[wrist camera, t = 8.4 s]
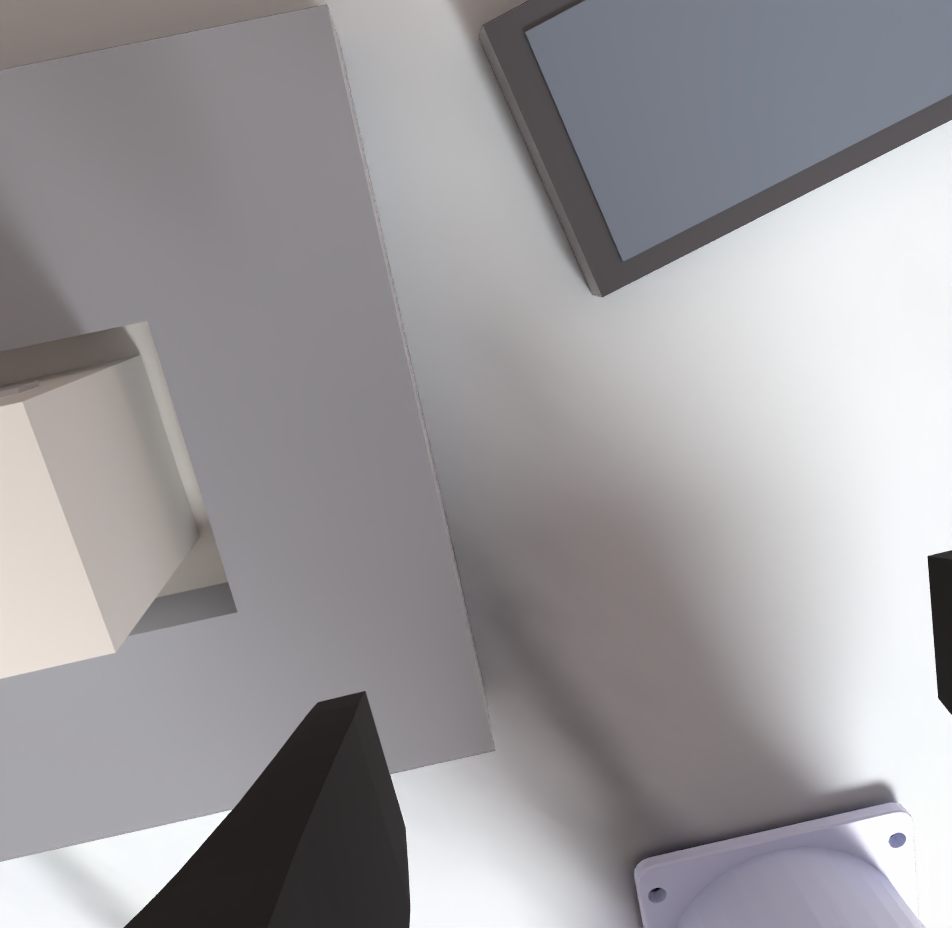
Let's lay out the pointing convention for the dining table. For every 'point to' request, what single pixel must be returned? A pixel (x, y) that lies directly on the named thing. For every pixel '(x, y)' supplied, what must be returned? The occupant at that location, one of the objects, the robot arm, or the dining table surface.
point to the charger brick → (84, 513)
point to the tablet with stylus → (708, 110)
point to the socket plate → (228, 425)
